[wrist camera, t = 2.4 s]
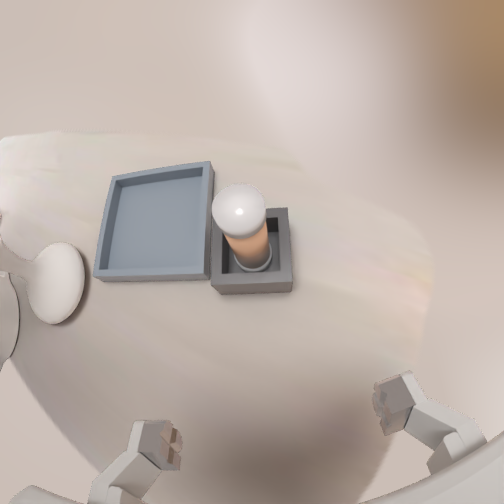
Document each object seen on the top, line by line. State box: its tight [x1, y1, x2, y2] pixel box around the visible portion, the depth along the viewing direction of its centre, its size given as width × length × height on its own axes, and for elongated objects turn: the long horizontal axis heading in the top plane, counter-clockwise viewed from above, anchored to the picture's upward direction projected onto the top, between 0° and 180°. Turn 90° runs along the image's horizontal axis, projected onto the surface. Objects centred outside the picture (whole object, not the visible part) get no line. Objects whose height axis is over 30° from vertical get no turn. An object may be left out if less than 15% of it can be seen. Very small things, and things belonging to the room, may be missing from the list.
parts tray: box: [93, 161, 214, 282], centre depth 33 cm, size 14×14×2 cm
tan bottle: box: [212, 183, 272, 273], centre depth 25 cm, size 4×4×11 cm
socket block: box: [211, 208, 292, 295], centre depth 29 cm, size 7×7×4 cm
